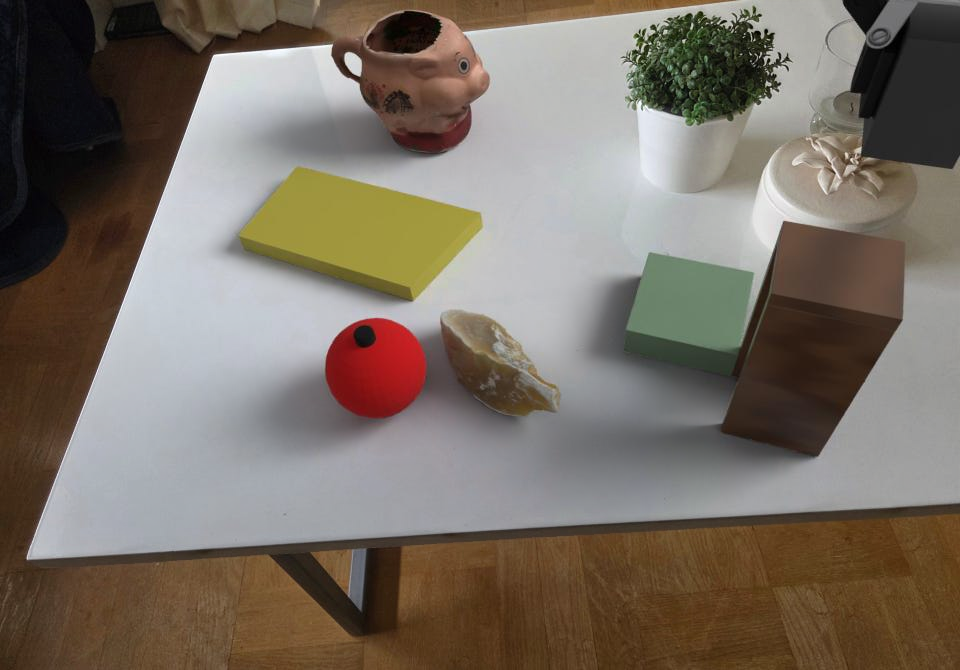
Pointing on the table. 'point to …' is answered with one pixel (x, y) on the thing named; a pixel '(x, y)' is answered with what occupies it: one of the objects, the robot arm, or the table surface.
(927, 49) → the block
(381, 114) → the face mug
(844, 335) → the tall brown wooden block
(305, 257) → the flat olive board
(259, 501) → the table surface
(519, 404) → the stone
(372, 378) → the ornament
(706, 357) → the sage green square slab
